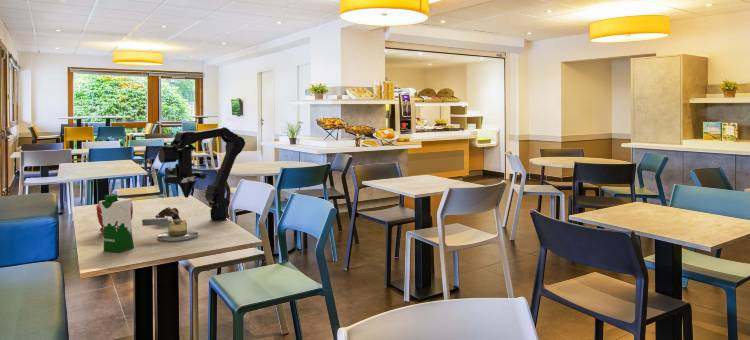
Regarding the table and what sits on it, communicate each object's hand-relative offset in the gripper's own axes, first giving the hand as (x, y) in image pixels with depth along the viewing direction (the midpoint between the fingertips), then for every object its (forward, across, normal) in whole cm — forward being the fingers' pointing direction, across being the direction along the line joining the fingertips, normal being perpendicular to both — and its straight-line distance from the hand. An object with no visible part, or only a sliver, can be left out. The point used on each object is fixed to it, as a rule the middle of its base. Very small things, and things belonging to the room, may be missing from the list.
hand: (186, 197), depth 227 cm
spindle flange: (+12, +18, +12) cm, 24 cm away
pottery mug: (+12, 0, -10) cm, 16 cm away
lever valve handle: (+11, +20, +8) cm, 24 cm away
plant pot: (+12, +22, -17) cm, 30 cm away
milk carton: (+12, +40, +6) cm, 42 cm away
